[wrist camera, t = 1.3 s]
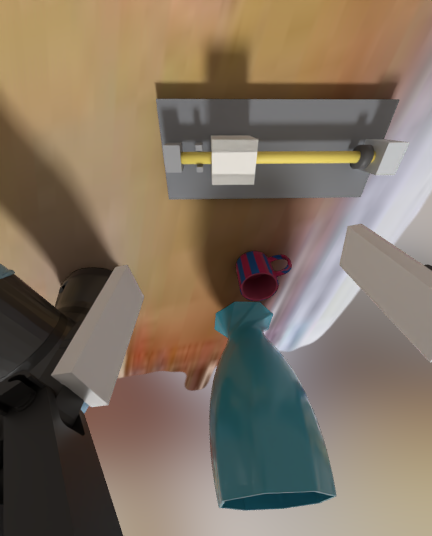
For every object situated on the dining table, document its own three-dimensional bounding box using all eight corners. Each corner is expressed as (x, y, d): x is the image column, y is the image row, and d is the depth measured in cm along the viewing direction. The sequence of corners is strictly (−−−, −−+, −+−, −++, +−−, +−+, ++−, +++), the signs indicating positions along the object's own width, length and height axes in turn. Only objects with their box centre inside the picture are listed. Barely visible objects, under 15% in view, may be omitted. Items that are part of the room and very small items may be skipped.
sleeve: (211, 173, 30) (212, 184, 25) (210, 135, 27) (211, 139, 22) (246, 173, 30) (253, 184, 25) (248, 135, 27) (258, 139, 22)
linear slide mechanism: (170, 196, 33) (164, 209, 28) (158, 99, 26) (147, 95, 21) (354, 194, 34) (379, 207, 29) (390, 100, 27) (431, 96, 22)
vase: (286, 297, 47) (369, 486, 23) (269, 342, 57) (315, 508, 33) (210, 295, 46) (214, 493, 22) (207, 342, 56) (207, 513, 32)
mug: (230, 259, 41) (233, 282, 35) (278, 237, 38) (290, 257, 33) (243, 282, 44) (249, 305, 39) (289, 263, 42) (301, 285, 36)
